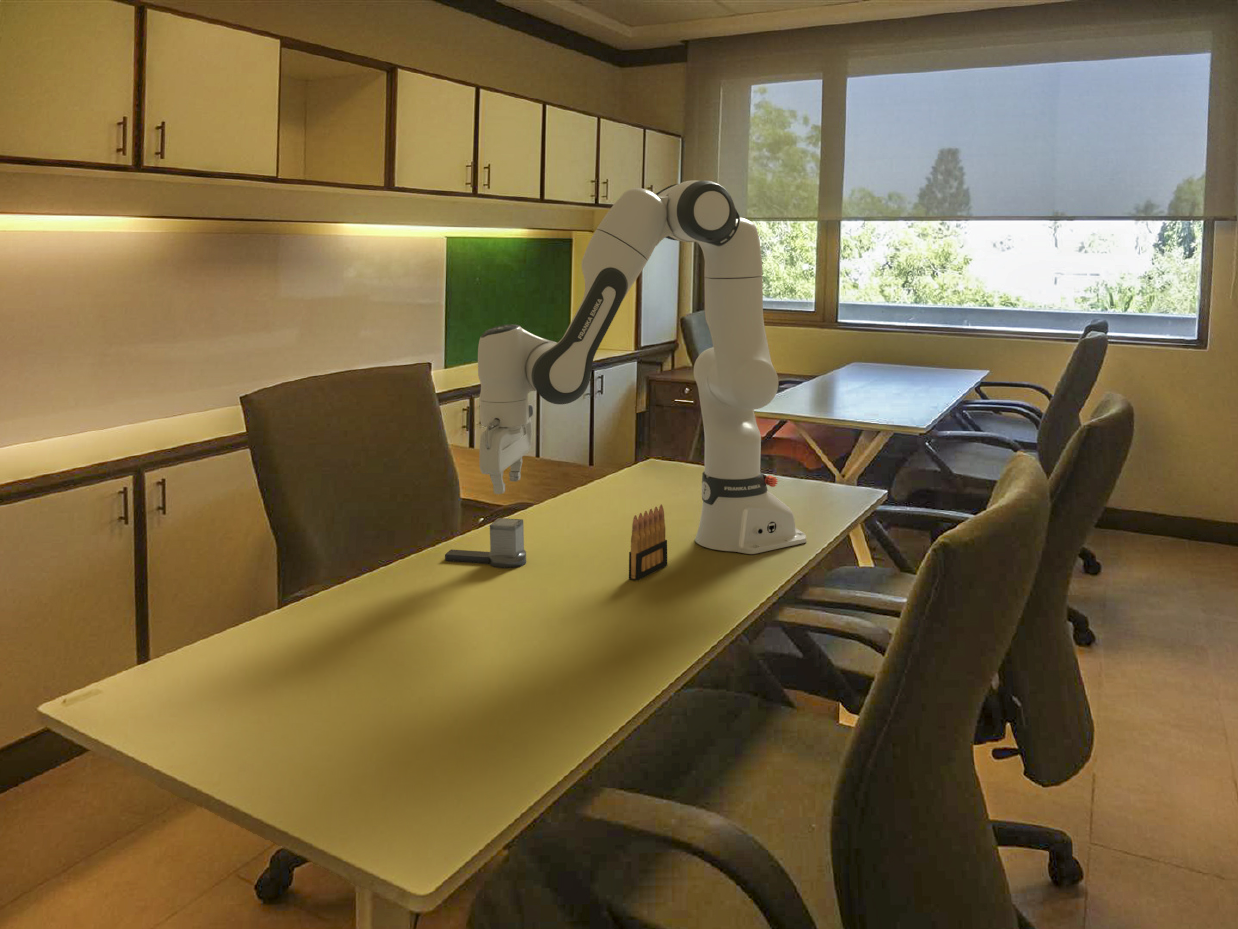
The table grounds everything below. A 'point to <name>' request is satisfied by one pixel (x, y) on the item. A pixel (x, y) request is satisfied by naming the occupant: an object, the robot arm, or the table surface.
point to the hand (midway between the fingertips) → (507, 486)
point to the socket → (506, 537)
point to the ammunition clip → (648, 544)
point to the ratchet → (486, 558)
